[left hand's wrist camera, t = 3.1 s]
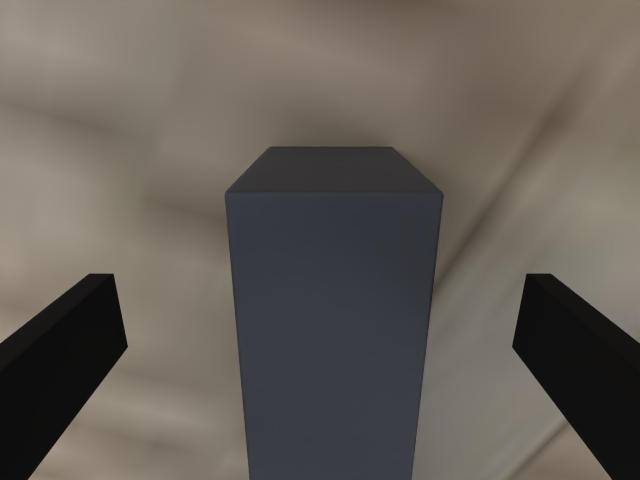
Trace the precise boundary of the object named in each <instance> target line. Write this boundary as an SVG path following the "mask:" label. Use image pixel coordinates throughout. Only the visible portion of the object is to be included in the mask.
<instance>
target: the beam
mask: <svg viewBox="0 0 640 480" xmlns="http://www.w3.org/2000/svg"><path fill="white" fill-rule="evenodd" d="M225 203H226V215H227V226H228V238H229V249H230V261H231V272H232V283H233V295H234V306H235V318H236V329H237V340H238V352H239V363H240V375H241V386H242V398H243V409H244V420H245V432H246V443H247V455H248V466H249V478H250V480H411V477H412V468H413V460H414V451H415V442H416V433H417V424H418V416H419V407H420V398H421V389H422V380H423V371H424V363H425V354H426V345H427V336H428V327H429V319H430V310H431V301H432V292H433V283H434V274H435V266H436V257H437V248H438V239H439V230H440V222H441V213H442V204H443V192H442V191H440V190H439V189H438V188H437V187H436V186H435V185H434V184H433V183H432V182H430V181H429V180H428V179H427V178H426V177H425V176H424V175H423V174H421V173H420V172H419V171H418V170H417V169H416V168H415V167H414V166H413V165H411V164H410V163H409V162H408V161H407V160H406V159H405V158H404V157H403V156H401V155H400V154H399V153H398V152H397V151H396V150H395V149H394V148H392V147H269V148H268V149H267V150H266V151H265V152H264V153H263V154H262V155H261V156H260V157H259V158H258V159H257V160H256V161H255V162H254V163H253V164H252V165H251V166H250V167H249V168H248V169H247V170H246V171H245V172H244V173H243V174H242V175H241V176H240V177H239V179H238V180H237V181H236V182H235V183H234V184H233V185H232V186H231V187H230V188H229V189H228V190H227V191H226V192H225Z"/></svg>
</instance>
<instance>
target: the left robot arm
mask: <svg viewBox="0 0 640 480" xmlns="http://www.w3.org/2000/svg"><path fill="white" fill-rule="evenodd" d="M127 348H128V345H127V340H126V335H125V330H124V325H123V320H122V315H121V309H120V304H119V299H118V294H117V289H116V284H115V279H114V274H88V275H87V276H86V277H84V278H83V279H82V280H81V281H79V282H78V283H77V284H75V285H74V286H73V287H72V288H70V289H69V290H68V291H67V292H65V293H64V294H63V295H61V296H60V297H59V298H58V299H56V300H55V301H54V302H53V303H51V304H50V305H49V306H47V307H46V308H45V309H44V310H42V311H41V312H40V313H39V314H37V315H36V316H35V317H33V318H32V319H31V320H30V321H28V322H27V323H26V324H24V325H23V326H22V327H21V328H19V329H18V330H17V331H16V332H14V333H13V334H12V335H10V336H9V337H8V338H7V339H5V340H4V341H3V342H2V343H0V480H28V479H29V477H30V476H31V475H32V473H33V472H34V471H35V469H36V468H37V467H38V465H39V464H40V463H41V461H42V460H43V459H44V457H45V456H46V455H47V453H48V452H49V451H50V450H51V448H52V447H53V446H54V444H55V443H56V442H57V440H58V439H59V438H60V436H61V435H62V434H63V432H64V431H65V430H66V428H67V427H68V426H69V424H70V423H71V422H72V420H73V419H74V418H75V416H76V415H77V414H78V412H79V411H80V410H81V408H82V407H83V406H84V404H85V403H86V402H87V401H88V399H89V398H90V397H91V395H92V394H93V393H94V391H95V390H96V389H97V387H98V386H99V385H100V383H101V382H102V381H103V379H104V378H105V377H106V375H107V374H108V373H109V371H110V370H111V369H112V367H113V366H114V365H115V363H116V362H117V361H118V359H119V358H120V357H121V355H122V354H123V353H124V352H125V350H126V349H127ZM512 348H513V349H514V350H515V352H516V353H517V354H518V355H519V357H520V358H521V359H522V361H523V362H524V363H525V365H526V366H527V367H528V369H529V370H530V371H531V373H532V374H533V375H534V377H535V378H536V379H537V381H538V382H539V383H540V385H541V386H542V387H543V389H544V390H545V391H546V393H547V394H548V395H549V397H550V398H551V399H552V401H553V402H554V403H555V404H556V406H557V407H558V408H559V410H560V411H561V412H562V414H563V415H564V416H565V418H566V419H567V420H568V422H569V423H570V424H571V426H572V427H573V428H574V430H575V431H576V432H577V434H578V435H579V436H580V438H581V439H582V440H583V442H584V443H585V444H586V446H587V447H588V448H589V450H590V451H591V452H592V453H593V455H594V456H595V457H596V459H597V460H598V461H599V463H600V464H601V465H602V467H603V468H604V469H605V471H606V472H607V473H608V475H609V476H610V477H611V479H612V480H640V343H638V342H637V341H636V340H635V339H633V338H632V337H631V336H630V335H628V334H627V333H626V332H624V331H623V330H622V329H621V328H619V327H618V326H617V325H616V324H614V323H613V322H612V321H610V320H609V319H608V318H607V317H605V316H604V315H603V314H601V313H600V312H599V311H598V310H596V309H595V308H594V307H593V306H591V305H590V304H589V303H587V302H586V301H585V300H584V299H582V298H581V297H580V296H579V295H577V294H576V293H575V292H573V291H572V290H571V289H570V288H568V287H567V286H566V285H565V284H563V283H562V282H561V281H559V280H558V279H557V278H556V277H554V276H553V275H552V274H526V279H525V284H524V289H523V294H522V299H521V304H520V309H519V315H518V320H517V325H516V330H515V335H514V340H513V345H512Z"/></svg>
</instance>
